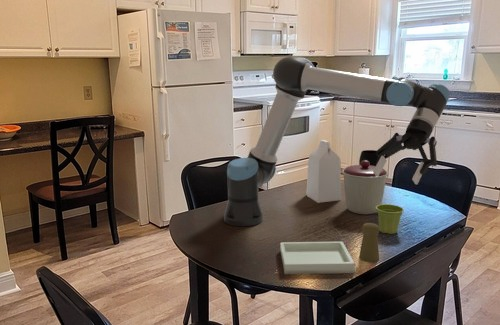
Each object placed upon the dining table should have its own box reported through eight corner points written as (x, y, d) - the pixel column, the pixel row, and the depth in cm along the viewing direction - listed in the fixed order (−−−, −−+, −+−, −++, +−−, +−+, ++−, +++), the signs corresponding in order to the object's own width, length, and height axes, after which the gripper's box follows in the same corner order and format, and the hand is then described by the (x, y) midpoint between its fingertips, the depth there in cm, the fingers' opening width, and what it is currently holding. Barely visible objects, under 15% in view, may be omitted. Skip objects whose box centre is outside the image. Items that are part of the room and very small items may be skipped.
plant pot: (390, 225, 162) (391, 202, 161) (407, 233, 154) (409, 210, 152) (369, 228, 159) (370, 205, 157) (386, 237, 151) (387, 213, 149)
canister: (395, 214, 174) (399, 162, 169) (357, 220, 167) (359, 167, 163) (367, 201, 190) (370, 154, 186) (332, 207, 184) (333, 158, 179)
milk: (306, 195, 201) (307, 139, 196) (328, 192, 205) (330, 138, 199) (317, 202, 190) (319, 143, 185) (341, 200, 193) (343, 142, 188)
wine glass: (377, 191, 207) (379, 149, 202) (384, 197, 197) (386, 153, 192) (355, 191, 206) (356, 149, 202) (361, 197, 196) (363, 154, 192)
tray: (284, 274, 125) (284, 264, 124) (280, 251, 141) (280, 242, 140) (354, 273, 125) (354, 263, 124) (342, 250, 141) (342, 241, 140)
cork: (380, 262, 131) (382, 228, 129) (359, 261, 133) (360, 227, 130) (378, 254, 137) (380, 221, 135) (358, 253, 138) (360, 220, 136)
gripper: (463, 136, 135) (436, 192, 129) (391, 129, 154) (365, 177, 148) (457, 120, 131) (428, 177, 125) (384, 115, 150) (356, 164, 143)
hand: (394, 178), depth 136 cm, fingers open, 13 cm apart
